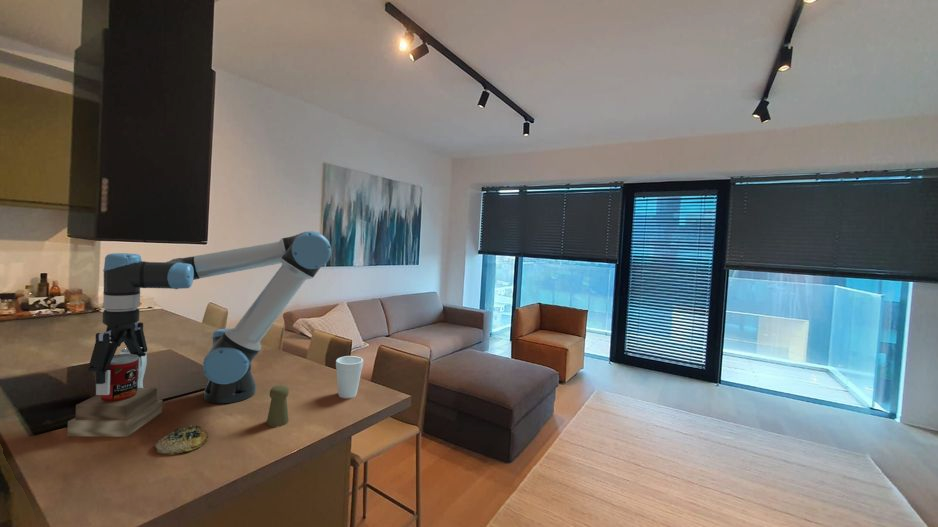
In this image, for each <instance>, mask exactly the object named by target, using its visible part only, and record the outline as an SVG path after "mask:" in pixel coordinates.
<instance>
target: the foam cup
mask: <svg viewBox="0 0 938 527" xmlns="http://www.w3.org/2000/svg"><path fill="white" fill-rule="evenodd" d="M363 367H364V359H363V357H360V356H355V355H345V356H341V357H338V358H336V360H335V369H336V380H337V392H338V397H339V398H341V399H352V398H355V397H356V396H357V393H358V389H359V385H360V379H361V374H362V369H363Z"/></svg>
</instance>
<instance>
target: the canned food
mask: <svg viewBox="0 0 938 527" xmlns="http://www.w3.org/2000/svg"><path fill="white" fill-rule="evenodd" d="M138 364H139V358H138V355H135V354H120V353H119V354H114V356H113V359H112V361H111V363H110V365H109V368H108V370H110V394H109V395H100V396H101V399H102V400H104V401H120V400H125V399H128V398H131V397H133V396H134V395H136V393H137V389H138Z"/></svg>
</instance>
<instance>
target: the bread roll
mask: <svg viewBox="0 0 938 527" xmlns="http://www.w3.org/2000/svg"><path fill="white" fill-rule="evenodd" d="M208 440H209V432H208V430H207V429H205V428H203V427H201V425H195V426H194V425H189V426H186V427H181V428H176V429H175V430H174V431H172V432H170V433H168V434H166V435H164V436H162V437H161V438H159V440H158V441H157V442H156V443H155V445H154V447H155V449H156V452H157V453H158V454H163V455H178V454H182V453H185V452H186V453H187V452H188V453H189V452H192V451H195V450H198V449H199V448H201V447H202V446H203V445H205V444H206V443H207V442H208Z"/></svg>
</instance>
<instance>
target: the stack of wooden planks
mask: <svg viewBox="0 0 938 527" xmlns="http://www.w3.org/2000/svg"><path fill="white" fill-rule="evenodd" d="M157 398H158V388H157V387H143V388H138V389H137V393H136V395H134V396H133V397H131V398H128V399H125V400H120V401H104V400H102V399H101V396H100V395H96V394H95V395H94V396H92V397H89V398H88V399H86V400H84V401H81V402H79V403H77V404H76V405H75V417H73V418H71V419H69V420H68V421H67V437H108V438H109V437H110V438H111V437H112V438H113V437H114V438H115V437H116V438H117V437H121V438H123V437H126V438H128V437H129V436H131V435H132V434H133V433H135V432H136V431H138V430H140V428H142V427H143V426H144V425H146V424H148V423H149V422H151V421H152V420H153V419H155V418H157V417H158V416H159V415H161V414H162V413H163V403H164V402H163V399H157Z"/></svg>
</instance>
